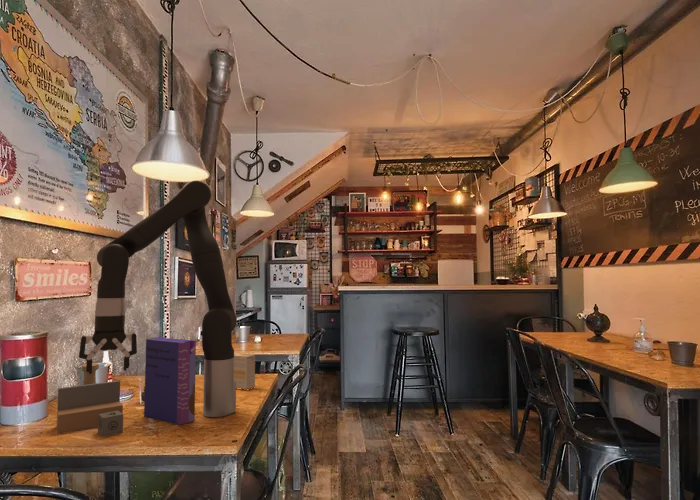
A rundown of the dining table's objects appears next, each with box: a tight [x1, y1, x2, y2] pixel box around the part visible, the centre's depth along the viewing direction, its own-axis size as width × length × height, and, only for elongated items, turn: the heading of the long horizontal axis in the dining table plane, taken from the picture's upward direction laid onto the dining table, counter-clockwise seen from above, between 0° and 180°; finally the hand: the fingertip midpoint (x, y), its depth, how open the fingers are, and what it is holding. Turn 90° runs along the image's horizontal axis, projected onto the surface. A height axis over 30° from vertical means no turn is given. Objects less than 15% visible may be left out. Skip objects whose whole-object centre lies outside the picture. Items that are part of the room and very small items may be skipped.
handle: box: [80, 362, 100, 385], centre depth 140 cm, size 5×6×15 cm
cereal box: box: [143, 337, 197, 426], centre depth 132 cm, size 17×5×24 cm, turn 59°
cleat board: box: [56, 380, 124, 435], centre depth 127 cm, size 16×7×11 cm, turn 126°
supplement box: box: [234, 353, 256, 391], centre depth 169 cm, size 8×5×13 cm, turn 58°
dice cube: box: [97, 411, 124, 438], centre depth 120 cm, size 5×5×5 cm
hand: (107, 371), depth 122 cm, fingers open, 8 cm apart
